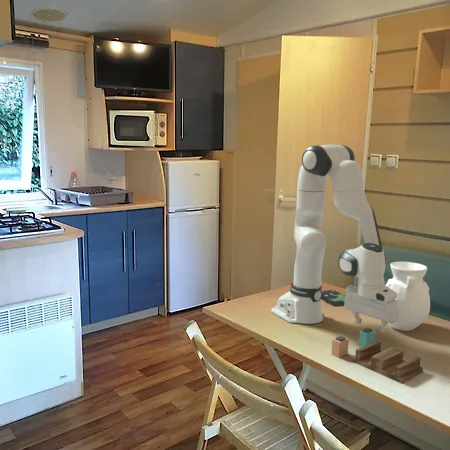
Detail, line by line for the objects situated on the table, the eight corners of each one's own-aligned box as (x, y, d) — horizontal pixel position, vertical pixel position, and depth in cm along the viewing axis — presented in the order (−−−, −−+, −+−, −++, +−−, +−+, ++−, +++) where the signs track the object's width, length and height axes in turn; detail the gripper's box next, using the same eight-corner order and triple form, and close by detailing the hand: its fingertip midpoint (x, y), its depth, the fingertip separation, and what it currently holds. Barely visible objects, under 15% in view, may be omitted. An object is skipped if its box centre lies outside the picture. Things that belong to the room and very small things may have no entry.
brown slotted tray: (352, 361, 155) (353, 348, 154) (373, 352, 163) (374, 339, 162) (401, 383, 141) (403, 369, 141) (422, 372, 149) (423, 358, 148)
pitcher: (432, 337, 176) (439, 273, 171) (381, 333, 179) (386, 269, 175) (422, 319, 194) (428, 261, 189) (376, 315, 197) (380, 258, 193)
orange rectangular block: (331, 354, 160) (332, 338, 159) (340, 350, 163) (341, 334, 162) (338, 357, 158) (339, 341, 157) (347, 353, 161) (348, 337, 160)
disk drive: (314, 297, 222) (333, 307, 208) (314, 291, 221) (333, 301, 208) (333, 295, 226) (352, 304, 212) (333, 289, 225) (352, 298, 212)
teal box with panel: (358, 345, 168) (359, 329, 167) (367, 341, 171) (368, 326, 170) (365, 348, 166) (367, 332, 165) (374, 344, 169) (375, 329, 168)
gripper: (340, 285, 170) (340, 321, 172) (391, 299, 154) (390, 338, 157) (351, 281, 174) (350, 317, 176) (402, 294, 158) (400, 333, 161)
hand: (369, 327), depth 166 cm, fingers open, 8 cm apart
